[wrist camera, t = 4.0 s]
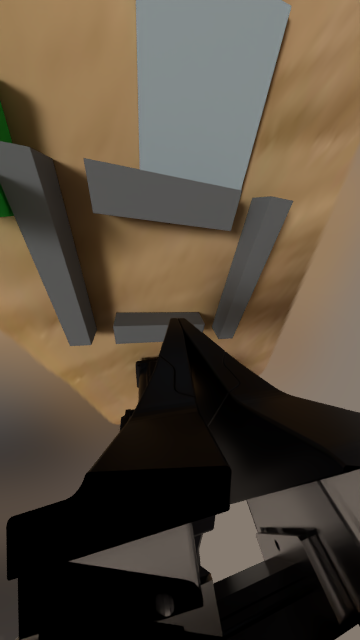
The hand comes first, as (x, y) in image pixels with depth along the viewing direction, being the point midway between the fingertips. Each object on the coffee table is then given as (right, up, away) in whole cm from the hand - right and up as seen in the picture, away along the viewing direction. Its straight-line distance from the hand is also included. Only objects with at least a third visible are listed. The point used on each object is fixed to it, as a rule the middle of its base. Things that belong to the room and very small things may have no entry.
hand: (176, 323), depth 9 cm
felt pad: (+2, +14, +1) cm, 14 cm away
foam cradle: (-2, +5, +7) cm, 9 cm away
